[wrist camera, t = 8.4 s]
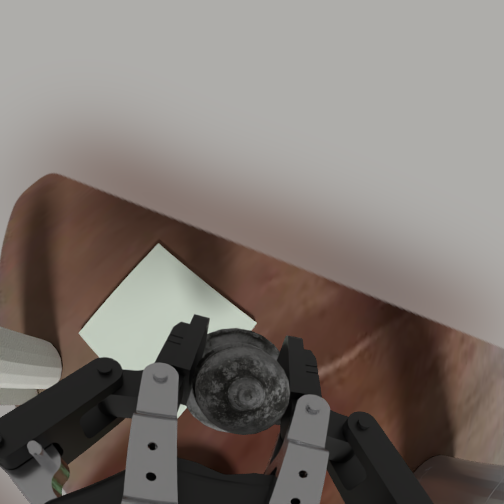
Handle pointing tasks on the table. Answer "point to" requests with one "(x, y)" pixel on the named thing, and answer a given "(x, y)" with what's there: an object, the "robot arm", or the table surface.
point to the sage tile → (156, 311)
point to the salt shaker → (238, 383)
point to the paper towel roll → (26, 366)
